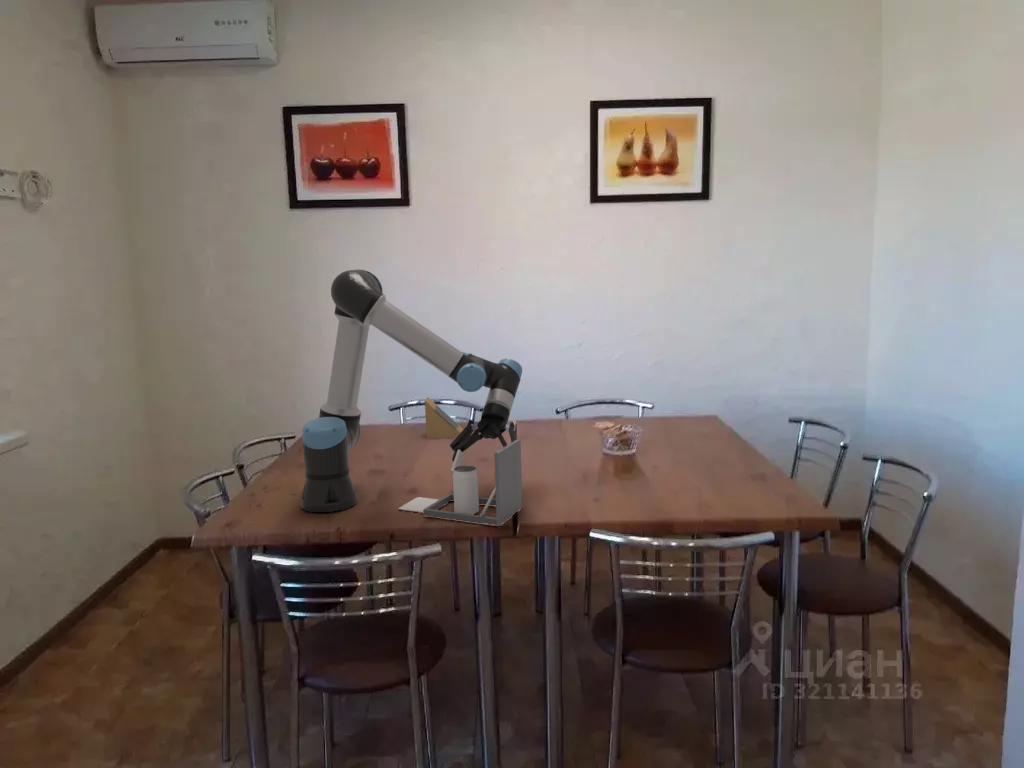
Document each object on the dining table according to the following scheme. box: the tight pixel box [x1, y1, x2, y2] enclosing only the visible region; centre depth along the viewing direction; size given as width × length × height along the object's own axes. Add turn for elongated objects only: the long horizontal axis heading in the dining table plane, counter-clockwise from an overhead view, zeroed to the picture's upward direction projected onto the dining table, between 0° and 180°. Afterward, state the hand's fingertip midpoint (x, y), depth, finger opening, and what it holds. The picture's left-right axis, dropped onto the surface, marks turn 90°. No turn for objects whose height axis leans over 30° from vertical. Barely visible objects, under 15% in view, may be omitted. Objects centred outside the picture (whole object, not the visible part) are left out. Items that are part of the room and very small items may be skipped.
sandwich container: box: [424, 396, 464, 439], centre depth 271 cm, size 9×15×15 cm, turn 91°
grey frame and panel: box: [422, 439, 523, 526], centre depth 185 cm, size 22×14×19 cm, turn 66°
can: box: [452, 464, 480, 514], centre depth 186 cm, size 6×6×12 cm
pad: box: [397, 496, 439, 512], centre depth 193 cm, size 8×10×1 cm
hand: (476, 475), depth 189 cm, fingers open, 13 cm apart
